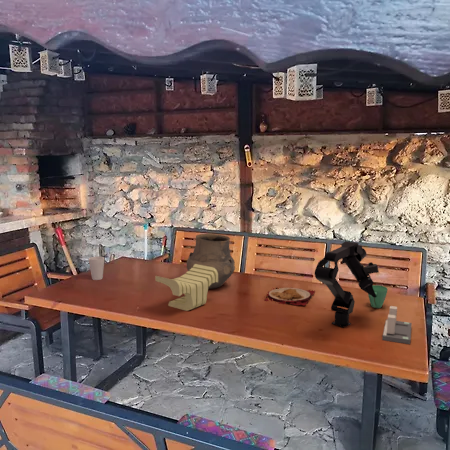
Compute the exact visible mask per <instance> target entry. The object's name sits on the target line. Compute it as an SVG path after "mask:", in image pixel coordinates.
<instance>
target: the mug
mask: <svg viewBox="0 0 450 450" xmlns="http://www.w3.org/2000/svg"><path fill="white" fill-rule="evenodd" d="M372 287H373V289H374V292H375V294H376V296H377V297H375V298H374V297H373V296H371V295H370V294H368V293H367V297H368V299H369V300H368V301H369V303H370V307H372V308H374V309H382V306H383V305H384V303H385V300H386V299H387V298H386V297H387V293H388V289H389V288H388V287H386V286H383V285H379V284H378V285H377V284H373V286H372Z"/></svg>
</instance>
